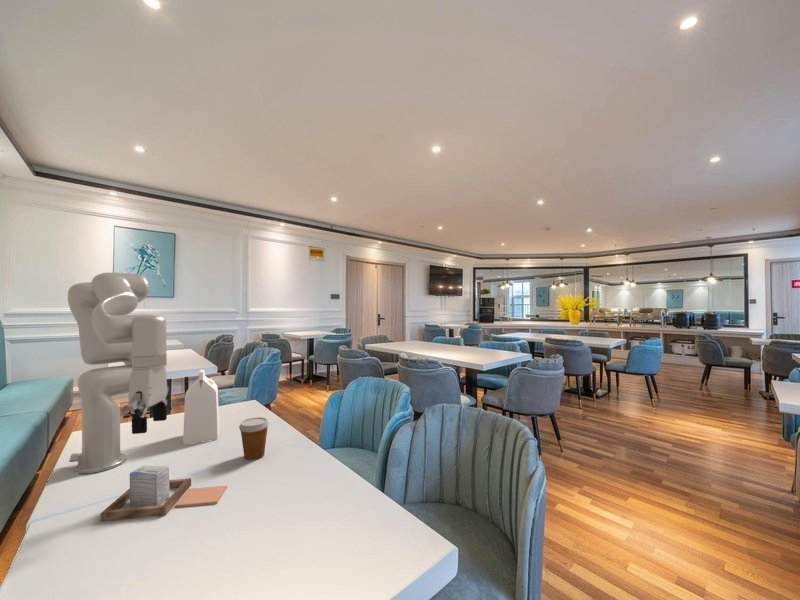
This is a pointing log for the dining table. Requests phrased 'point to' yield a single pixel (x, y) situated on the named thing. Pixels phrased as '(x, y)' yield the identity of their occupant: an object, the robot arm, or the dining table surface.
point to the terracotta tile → (201, 496)
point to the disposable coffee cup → (254, 437)
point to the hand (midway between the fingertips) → (150, 426)
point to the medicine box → (149, 485)
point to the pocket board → (149, 511)
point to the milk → (201, 411)
